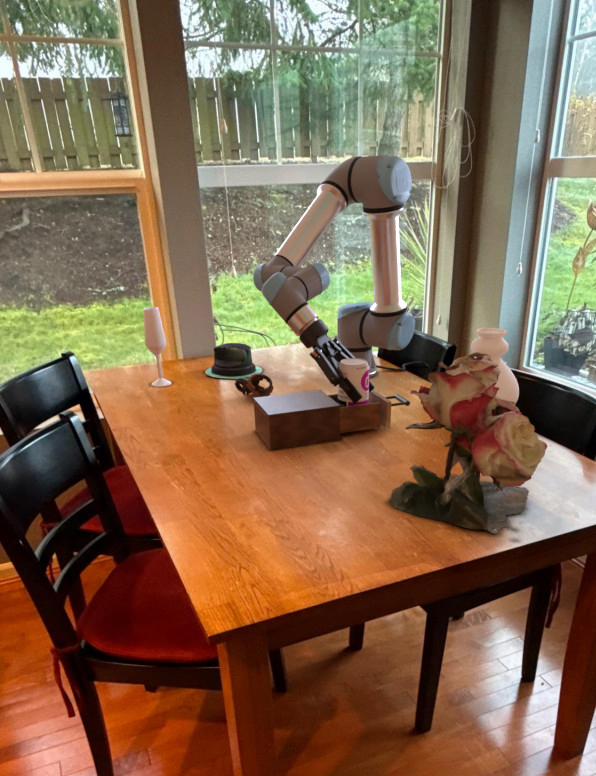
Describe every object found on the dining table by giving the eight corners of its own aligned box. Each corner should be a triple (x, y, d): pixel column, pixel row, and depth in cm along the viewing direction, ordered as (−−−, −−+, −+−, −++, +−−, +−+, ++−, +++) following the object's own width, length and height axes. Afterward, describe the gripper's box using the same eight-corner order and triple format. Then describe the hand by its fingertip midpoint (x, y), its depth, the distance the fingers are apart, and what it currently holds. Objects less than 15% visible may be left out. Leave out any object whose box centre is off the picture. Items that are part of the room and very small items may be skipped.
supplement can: (372, 414, 171) (374, 359, 163) (361, 424, 164) (362, 367, 157) (344, 410, 174) (345, 356, 166) (332, 420, 167) (333, 363, 160)
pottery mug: (272, 393, 200) (276, 374, 193) (268, 414, 195) (272, 395, 188) (235, 384, 198) (238, 365, 192) (230, 405, 193) (233, 386, 186)
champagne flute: (176, 382, 210) (166, 307, 198) (161, 387, 205) (150, 311, 194) (161, 379, 214) (151, 305, 202) (146, 384, 209) (135, 309, 197)
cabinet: (321, 422, 175) (320, 389, 170) (340, 440, 163) (340, 405, 158) (255, 431, 169) (253, 397, 164) (270, 450, 157) (268, 414, 153)
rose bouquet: (519, 544, 116) (546, 384, 101) (378, 507, 130) (384, 361, 115) (555, 491, 135) (582, 350, 120) (428, 464, 148) (439, 334, 133)
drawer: (392, 410, 180) (393, 384, 176) (414, 425, 169) (416, 398, 165) (311, 421, 173) (310, 394, 169) (328, 437, 162) (328, 409, 158)
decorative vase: (439, 430, 168) (447, 334, 155) (456, 410, 181) (465, 321, 169) (506, 440, 161) (521, 341, 148) (519, 419, 175) (533, 326, 162)
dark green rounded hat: (270, 362, 228) (258, 379, 211) (228, 385, 235) (214, 403, 218) (247, 324, 222) (234, 339, 205) (205, 349, 229) (189, 365, 212)
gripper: (316, 329, 173) (369, 393, 175) (281, 346, 157) (339, 416, 159) (334, 310, 169) (388, 376, 171) (299, 325, 152) (359, 398, 154)
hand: (365, 395), depth 165 cm, fingers closed on supplement can, 8 cm apart
